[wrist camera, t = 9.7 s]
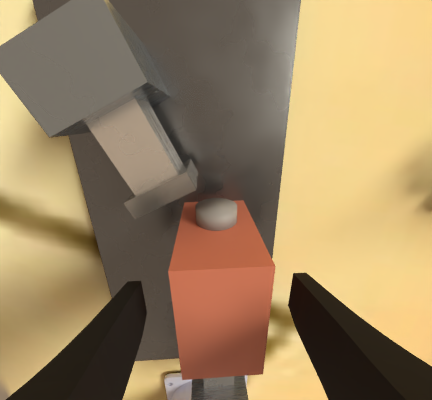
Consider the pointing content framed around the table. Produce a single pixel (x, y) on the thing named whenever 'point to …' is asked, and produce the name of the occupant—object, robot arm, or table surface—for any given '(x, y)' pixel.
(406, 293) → the table surface
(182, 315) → the block
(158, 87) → the stand
